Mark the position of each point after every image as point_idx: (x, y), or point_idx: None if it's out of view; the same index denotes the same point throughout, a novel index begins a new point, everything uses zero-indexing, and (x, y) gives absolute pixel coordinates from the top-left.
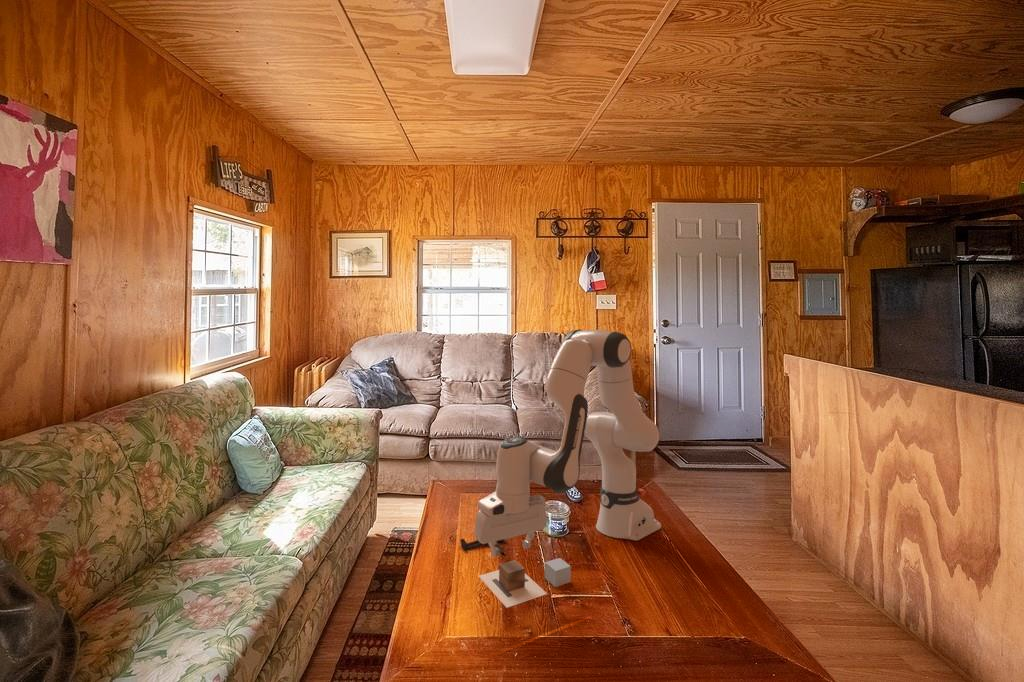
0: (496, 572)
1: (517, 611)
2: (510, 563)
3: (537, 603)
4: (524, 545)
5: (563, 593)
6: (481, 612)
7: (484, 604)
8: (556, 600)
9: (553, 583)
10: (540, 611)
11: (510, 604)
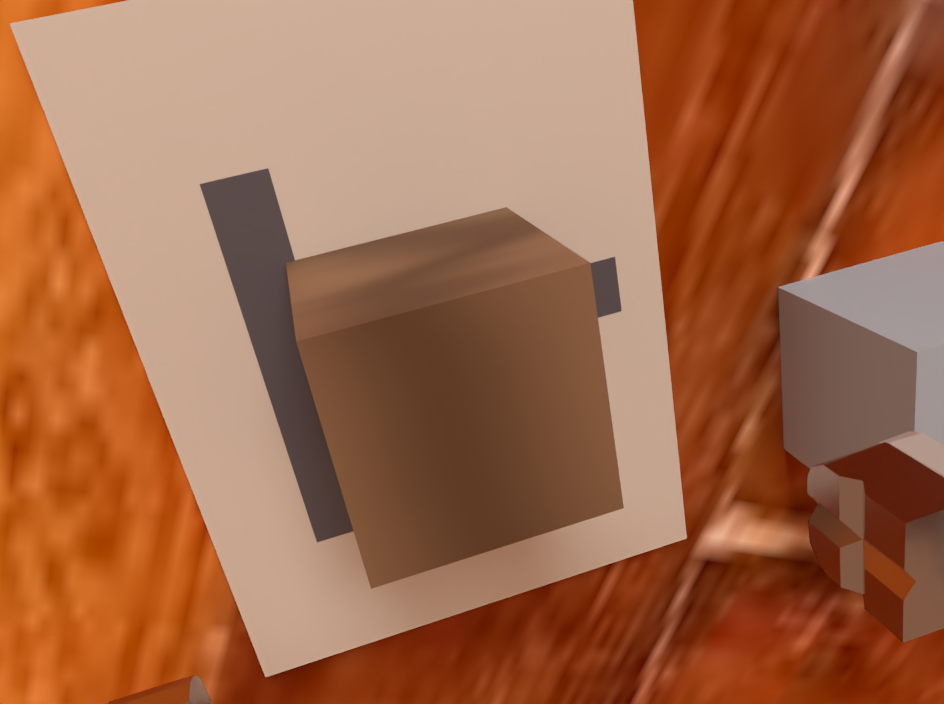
0: (304, 20)
1: (355, 687)
2: (480, 352)
3: (556, 610)
4: (848, 525)
5: (809, 516)
6: (3, 677)
7: (50, 571)
8: (713, 591)
9: (807, 444)
10: (536, 699)
11: (313, 639)
